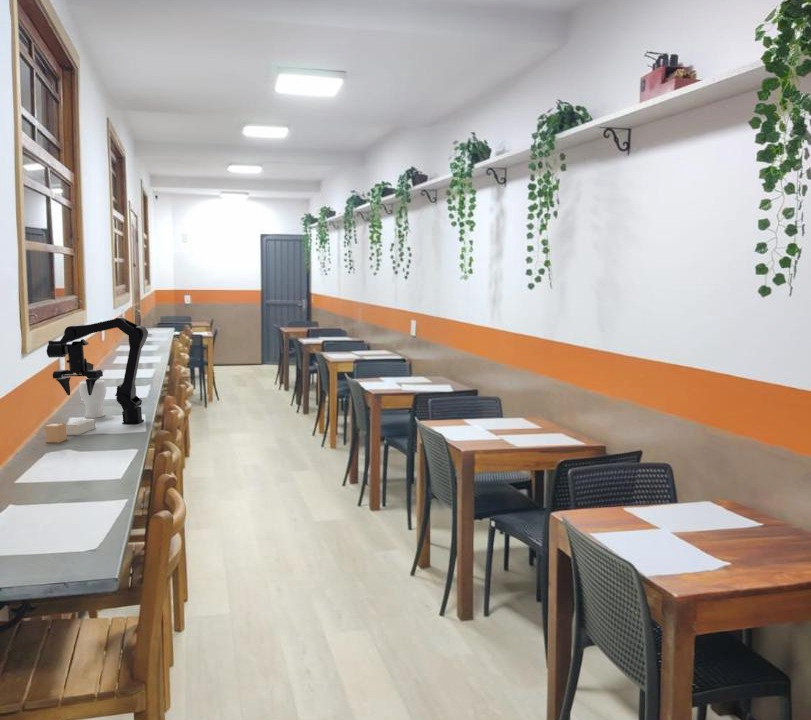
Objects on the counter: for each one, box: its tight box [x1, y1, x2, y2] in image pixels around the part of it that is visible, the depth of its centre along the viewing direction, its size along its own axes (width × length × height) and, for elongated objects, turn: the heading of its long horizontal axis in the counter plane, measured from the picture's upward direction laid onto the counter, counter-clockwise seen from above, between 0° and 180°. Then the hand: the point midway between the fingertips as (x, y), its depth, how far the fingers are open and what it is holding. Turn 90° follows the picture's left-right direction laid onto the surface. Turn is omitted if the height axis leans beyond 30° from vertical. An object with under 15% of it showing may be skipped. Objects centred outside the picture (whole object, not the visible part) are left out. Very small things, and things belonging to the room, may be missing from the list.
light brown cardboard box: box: [44, 422, 68, 443], centre depth 274 cm, size 5×5×6 cm
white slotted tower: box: [66, 418, 97, 436], centre depth 289 cm, size 5×12×4 cm, turn 171°
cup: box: [78, 379, 107, 419], centre depth 317 cm, size 11×11×15 cm
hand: (79, 395), depth 301 cm, fingers open, 9 cm apart
